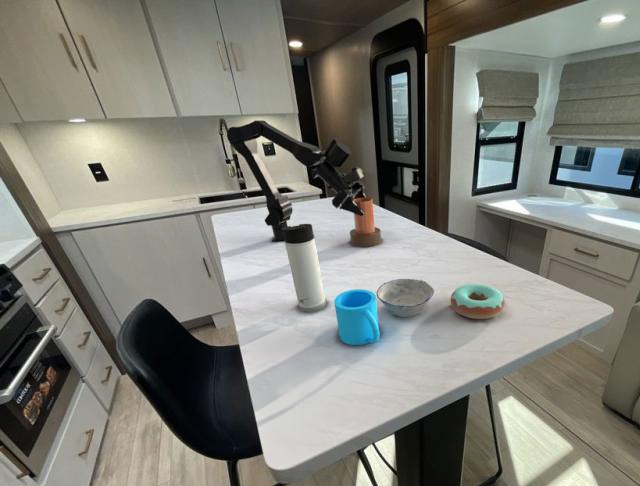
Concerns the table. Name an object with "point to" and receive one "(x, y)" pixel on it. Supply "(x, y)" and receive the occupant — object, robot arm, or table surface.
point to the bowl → (405, 296)
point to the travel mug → (304, 266)
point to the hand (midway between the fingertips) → (367, 211)
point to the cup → (364, 216)
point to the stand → (365, 238)
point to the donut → (477, 301)
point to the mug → (357, 317)
